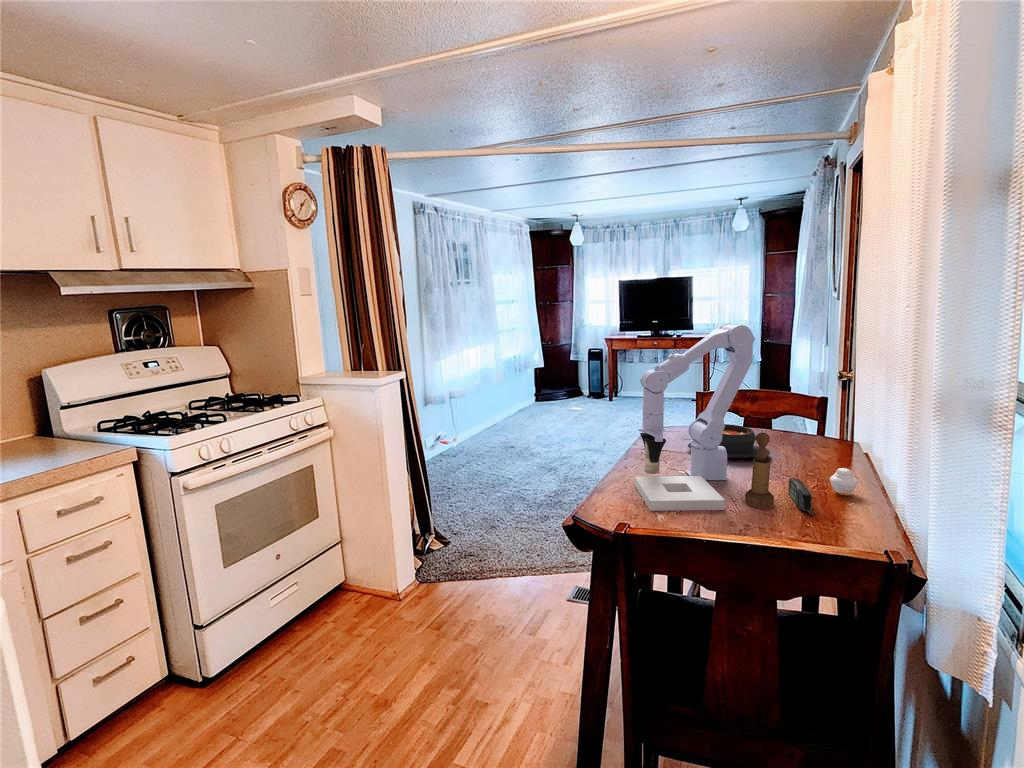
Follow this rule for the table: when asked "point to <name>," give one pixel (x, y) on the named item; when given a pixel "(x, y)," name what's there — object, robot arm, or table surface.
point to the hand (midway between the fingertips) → (652, 459)
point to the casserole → (738, 442)
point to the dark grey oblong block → (800, 495)
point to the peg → (650, 467)
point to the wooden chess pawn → (760, 477)
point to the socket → (678, 493)
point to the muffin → (843, 481)
